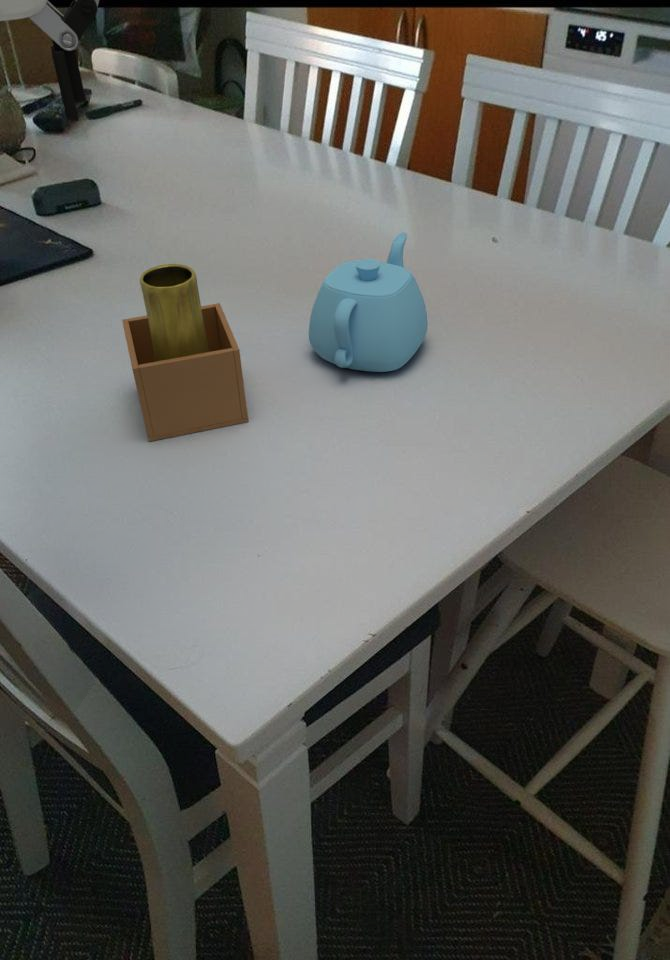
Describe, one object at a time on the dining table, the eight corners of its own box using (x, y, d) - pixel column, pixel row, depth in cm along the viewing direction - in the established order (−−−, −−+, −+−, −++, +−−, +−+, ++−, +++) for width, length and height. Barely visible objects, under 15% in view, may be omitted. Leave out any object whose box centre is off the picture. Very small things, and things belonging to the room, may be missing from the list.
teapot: (455, 235, 91) (394, 305, 79) (450, 320, 98) (393, 397, 85) (353, 220, 95) (280, 283, 83) (355, 302, 102) (288, 372, 90)
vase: (195, 424, 82) (172, 295, 73) (148, 408, 84) (120, 282, 75) (230, 394, 86) (212, 268, 77) (184, 380, 88) (162, 257, 79)
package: (148, 441, 81) (132, 368, 75) (137, 389, 88) (121, 319, 83) (248, 421, 83) (239, 349, 77) (229, 372, 90) (219, 302, 85)
